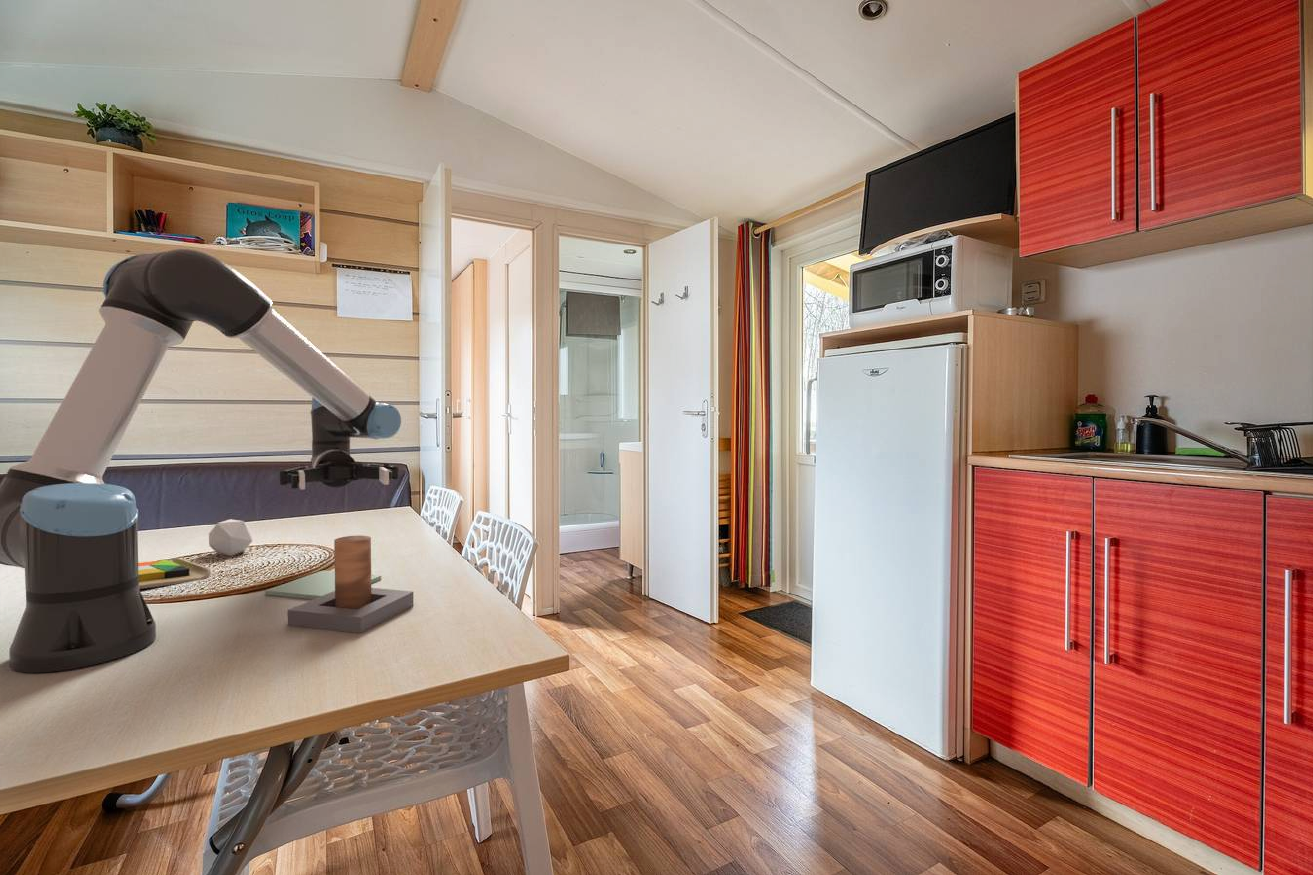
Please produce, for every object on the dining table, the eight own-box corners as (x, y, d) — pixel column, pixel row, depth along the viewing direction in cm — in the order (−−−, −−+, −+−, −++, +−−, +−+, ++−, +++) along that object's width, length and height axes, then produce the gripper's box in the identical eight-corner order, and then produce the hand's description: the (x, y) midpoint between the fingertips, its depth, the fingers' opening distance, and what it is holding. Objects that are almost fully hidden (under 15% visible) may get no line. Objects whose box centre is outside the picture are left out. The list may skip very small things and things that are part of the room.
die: (261, 554, 143) (259, 518, 147) (236, 544, 135) (234, 506, 140) (227, 567, 142) (225, 531, 147) (199, 557, 135) (199, 519, 139)
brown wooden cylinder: (356, 622, 99) (355, 543, 98) (327, 618, 100) (326, 541, 99) (378, 610, 104) (377, 536, 103) (351, 608, 105) (350, 534, 104)
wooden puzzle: (213, 579, 123) (213, 562, 123) (91, 604, 107) (90, 585, 107) (177, 565, 132) (177, 550, 132) (59, 587, 116) (59, 569, 116)
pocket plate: (360, 633, 94) (360, 617, 94) (287, 625, 97) (287, 609, 97) (413, 605, 107) (413, 591, 107) (347, 599, 110) (347, 585, 110)
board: (330, 601, 109) (330, 596, 109) (265, 594, 112) (265, 590, 112) (381, 579, 122) (381, 575, 122) (322, 574, 125) (322, 570, 125)
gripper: (399, 482, 134) (418, 495, 116) (265, 489, 120) (264, 505, 102) (398, 448, 133) (418, 456, 116) (264, 452, 120) (263, 461, 102)
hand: (346, 479), depth 109 cm, fingers open, 13 cm apart
